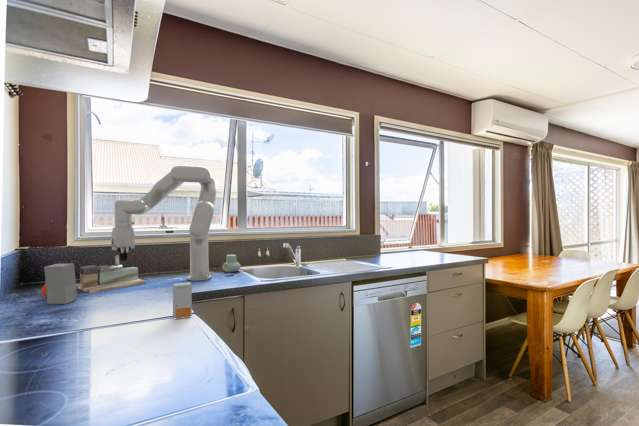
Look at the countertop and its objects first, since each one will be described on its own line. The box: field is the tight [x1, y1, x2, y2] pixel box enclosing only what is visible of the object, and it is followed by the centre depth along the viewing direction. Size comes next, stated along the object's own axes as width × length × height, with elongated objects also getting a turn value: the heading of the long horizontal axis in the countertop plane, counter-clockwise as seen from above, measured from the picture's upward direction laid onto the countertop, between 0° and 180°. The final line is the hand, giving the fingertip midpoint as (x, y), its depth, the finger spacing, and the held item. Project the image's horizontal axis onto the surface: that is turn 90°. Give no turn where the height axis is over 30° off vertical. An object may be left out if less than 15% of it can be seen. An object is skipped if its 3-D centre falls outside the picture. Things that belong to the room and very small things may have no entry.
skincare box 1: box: [43, 262, 78, 305], centre depth 145 cm, size 8×7×16 cm
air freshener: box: [221, 254, 242, 274], centre depth 212 cm, size 11×8×10 cm
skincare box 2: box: [172, 281, 193, 319], centre depth 126 cm, size 6×4×12 cm
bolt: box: [99, 254, 124, 271], centre depth 175 cm, size 2×10×7 cm, turn 142°
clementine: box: [41, 283, 47, 298], centre depth 152 cm, size 8×7×7 cm
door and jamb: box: [76, 264, 146, 294], centre depth 175 cm, size 18×25×11 cm
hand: (123, 260), depth 180 cm, fingers closed
